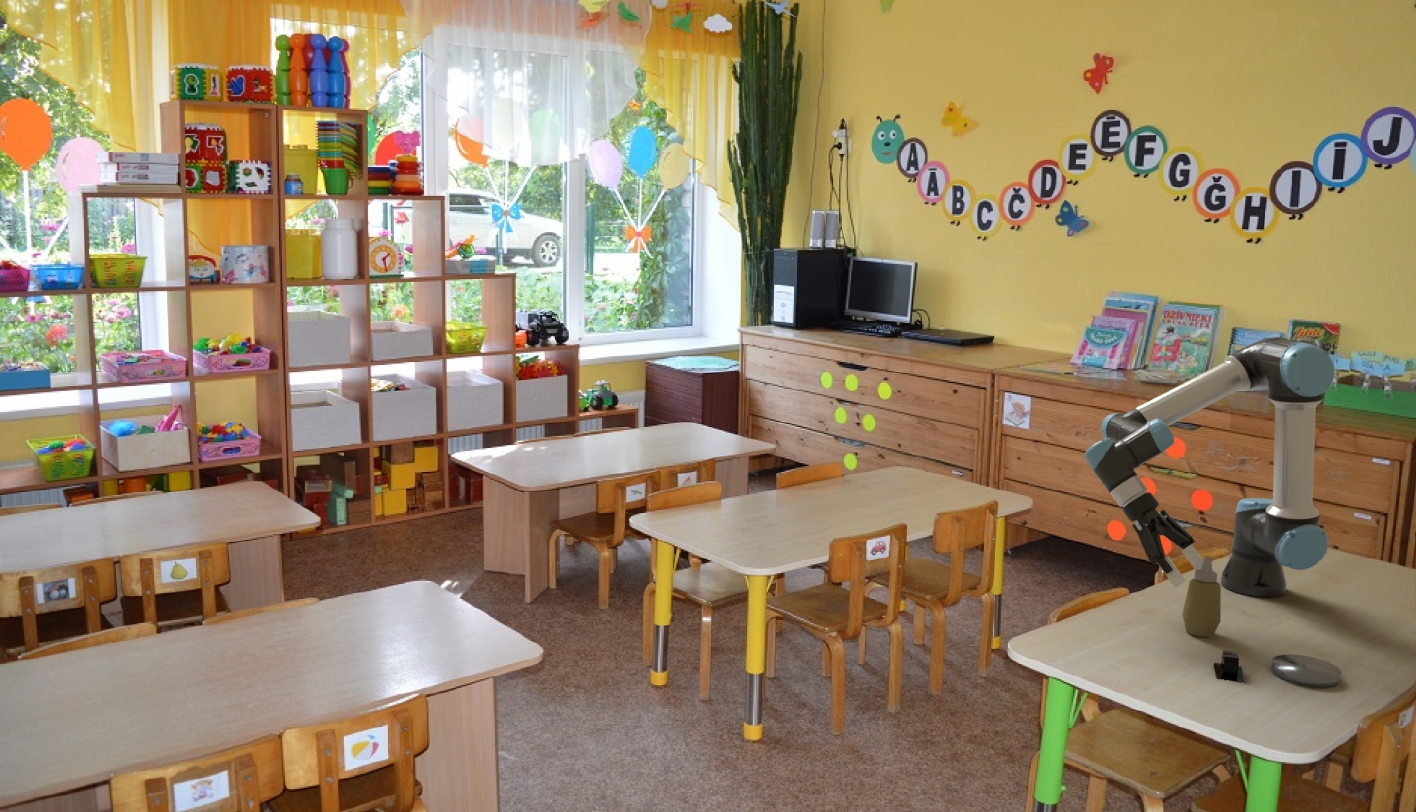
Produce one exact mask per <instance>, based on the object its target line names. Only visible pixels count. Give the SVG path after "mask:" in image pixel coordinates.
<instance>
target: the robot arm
mask: <svg viewBox="0 0 1416 812" xmlns="http://www.w3.org/2000/svg"><path fill="white" fill-rule="evenodd" d="M1335 372H1336V371H1335V366H1334V361H1333V359H1332V357H1331V356H1330V355H1329V354H1328V353H1327V351H1326V350H1324V349H1323V348H1322V347H1319V346H1316V345H1314V344H1312V343H1310V342H1304V341H1300V340H1299V341H1298V340H1294V339H1293V340H1292V339H1288V338H1285V337H1280V336H1279V337H1278V336H1277V337H1276V336H1275V337H1268V338H1263V339H1261V340H1258V341H1256V342H1253V343H1251V344H1249V345H1247V346H1245V347H1242V348H1240V349H1238V350H1236V351H1234V352H1232V353H1230V354H1228V355H1227V356H1225V357H1224V360H1223V362H1222V363H1220V364H1218V365H1215V366H1214V367H1212V368H1210V369H1208V370H1206V371H1205V372H1203V373H1201V374H1199V375H1197V376H1195V377H1193V378H1191V379H1189V380H1186V381H1184V382H1183V383H1181V384H1180V385H1177V386H1176V387H1174V388H1172V389H1170V390H1167V391H1166V392H1164V393H1162V394H1160V395H1158V396H1156V397H1154V398H1153V399H1150V400H1148V401H1147V402H1145V403H1143V404H1141V405H1139V406H1136V407H1135V408H1133V409H1131V410H1129V411H1127V412H1124V413H1110V414H1108V415H1107V416H1106V417H1105V418H1104V419H1103V420H1102V422H1101V425H1100V432H1101V436H1102V437H1103V439H1100V440H1099V441H1097V442H1095V443H1094V444H1093V445H1091V446H1090V447H1089V448H1088V449H1087V450H1086V451H1085V453H1084V458H1085V461H1086V462H1087V463H1088V465H1089V467H1090V468H1091V470H1092V472H1094V474H1095V475H1096V476H1097V478H1098V479H1099V481H1100V482H1101V483H1102V485H1103V486H1104V487H1105V488H1106V490H1107V491H1108V492H1109V493H1110V495H1111V496H1112V500H1113V501H1115V502H1116V503H1117V505H1118V506H1119V507H1123V508H1122V512H1123V514H1124V515H1125V516H1126V517H1127V519H1128V520H1129V521H1130V522H1132V523H1133V522H1135V523H1133V524H1132V525H1131V526H1132V528H1133V529H1134V531H1135V533H1136V534H1137V536H1138V539H1139V542H1140V543H1141V546H1142V549H1143V550H1144V552H1145V555H1146V557H1147V560H1148V561H1149V562H1150V563H1151V565H1156V564H1157V565H1158V566H1159V567H1160V568H1161V570H1162V572H1163V573H1164V574H1165V575H1166V577H1167V578H1168V580H1169V581H1170V582H1171V584H1172V585H1173V586H1174V588H1175V589H1176V588H1178V587H1179V586H1181V585H1183V584H1184V583H1186V582H1187V580H1186V578H1185V577H1184V576H1183V574H1182V573H1181V572H1180V570H1179V569H1178V567H1177V566H1176V565H1175V563H1174V562H1173V561H1172V560H1171V558H1170V556H1168V555H1167V556H1166V553H1165V550H1164V548H1163V543H1162V539H1161V536H1164V537H1165V538H1166V539H1168V540H1169V541H1171V542H1172V543H1174V544H1175V545H1176V546H1178V547H1179V548H1181V552H1182V554H1183V555H1184V556H1185V558H1186V559H1187V560H1188V562H1189V563H1190V565H1191V566H1192V568H1193V569H1194V570H1195V571H1196V570H1199V569H1201V567H1202V564H1203V561H1204V558H1203V557H1202V556H1201V555H1200V553H1199V552H1198V551H1197V549H1196V547H1194V543H1195V542H1196V540H1195V539H1194V537H1193V536H1192V535H1191V534H1190V533H1189V532H1188V531H1186V530H1185V529H1184V528H1183V527H1182V526H1181V525H1180V524H1179V523H1177V522H1176V521H1175V520H1174V519H1173V518H1172V517H1171V516H1170V515H1169V514H1168V513H1167V511H1166V510H1165V509H1161V510H1160V511H1159V512H1158V510H1157V508H1158V506H1159V505H1160V504H1159V501H1158V500H1157V499H1156V497H1155V496H1154V494H1153V493H1152V492H1150V491H1148V490H1149V488H1148V487H1147V485H1146V484H1145V483H1144V481H1143V479H1141V477H1140V476H1139V475H1138V474H1137V472H1136V470H1135V469H1138V468H1140V466H1142V465H1144V464H1145V463H1147V462H1149V461H1151V460H1152V459H1154V458H1155V457H1157V456H1159V455H1160V454H1163V453H1164V452H1165V451H1167V450H1169V448H1171V447H1172V446H1173V445H1174V444H1175V437H1174V435H1173V434H1174V433H1172V430H1171V429H1170V427H1169V426H1171V425H1172V424H1174V423H1177V422H1178V421H1181V420H1183V419H1184V418H1187V417H1188V416H1191V415H1193V414H1195V413H1196V412H1198V411H1200V410H1202V409H1205V408H1207V407H1209V406H1210V405H1212V404H1214V403H1216V402H1217V401H1220V400H1222V399H1224V398H1226V397H1228V396H1230V395H1232V394H1234V393H1236V392H1238V391H1243V392H1245V391H1249V390H1251V389H1253V388H1255V387H1259V386H1264V385H1265V386H1266V385H1268V400H1269V401H1270V402H1271V403H1272V404H1273V405H1274V408H1275V409H1274V443H1273V444H1274V447H1273V449H1274V450H1273V481H1272V482H1273V483H1272V498H1262V497H1261V498H1259V497H1257V498H1255V497H1250V498H1249V497H1247V498H1246V497H1245V498H1242V499H1240V500H1239V501H1238V502H1237V505H1236V509H1235V518H1234V527H1233V535H1232V536H1233V539H1232V545H1231V553H1230V556H1229V559H1228V560H1227V563H1226V565H1225V567H1224V569H1223V571H1222V573H1221V576H1220V586H1221V587H1224V588H1225V589H1227V590H1230V591H1232V592H1233V593H1238V594H1242V595H1247V596H1251V597H1257V598H1258V597H1261V598H1276V597H1277V598H1278V597H1281V596H1284V595H1285V594H1286V593H1285V592H1286V591H1287V581H1286V580H1287V579H1286V576H1285V572H1284V568H1283V567H1286V568H1290V569H1292V570H1296V571H1297V570H1298V571H1302V570H1303V571H1304V570H1307V569H1311V568H1312V567H1315V566H1316V565H1317V564H1318V563H1319V562H1320V561H1322V560H1323V558H1325V556H1326V554H1327V552H1328V549H1329V538H1328V535H1327V533H1326V532H1325V531H1324V529H1322V527H1320V511H1319V510H1318V509H1317V508H1316V507H1315V506H1314V505H1313V503H1314V502H1313V501H1314V500H1313V499H1314V497H1313V496H1314V477H1315V476H1314V471H1315V446H1316V445H1315V439H1316V413H1317V411H1316V410H1317V409H1316V408H1317V406H1318V405H1319V404H1320V403H1322V402H1323V401H1324V393H1325V392H1326V391H1327V390H1328V389H1329V386H1331V385H1332V383H1333V382H1334V379H1335Z"/></svg>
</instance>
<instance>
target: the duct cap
mask: <svg viewBox="0 0 1416 812" xmlns="http://www.w3.org/2000/svg"><path fill="white" fill-rule="evenodd" d="M1270 671H1271V673H1272V674H1273V675H1274V676H1275V675H1276V676H1275V677H1277V678H1278V677H1279V678H1278V679H1280V680H1282V681H1284V682H1287V683H1290V684H1293V685H1297V686H1299V687H1300V686H1301V687H1306V688H1311V689H1333V688H1336V687H1338V686H1340V684H1341V680H1342V674H1343V673H1342V670H1341V669H1340V668H1339V667H1337V665H1334V664H1333V663H1330V662H1329V661H1326V660H1324V659H1320V658H1317V657H1313V656H1309V655H1308V656H1307V655H1302V654H1289V653H1288V654H1278V655H1276V656H1274V657H1273V658H1272V659H1271V666H1270Z"/></svg>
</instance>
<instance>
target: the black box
mask: <svg viewBox="0 0 1416 812" xmlns="http://www.w3.org/2000/svg"><path fill="white" fill-rule="evenodd" d="M1220 661H1221V662H1214V665H1213V670H1214V675H1215V679H1216V678H1217V679H1216V680H1220V679H1221V680H1222V681H1227V680H1229V682H1234V683H1235V682H1236V683H1241V684H1246V680H1245V681H1244V679H1245V677H1243V675H1244V671H1243V668H1242V666H1241V665H1239V664H1240V656H1239V652H1237V651H1231V650H1222V655H1221V660H1220ZM1216 676H1217V677H1216ZM1243 678H1244V679H1243ZM1223 679H1224V680H1223ZM1221 680H1220V681H1221ZM1242 682H1244V683H1242Z"/></svg>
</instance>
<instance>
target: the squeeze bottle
mask: <svg viewBox="0 0 1416 812" xmlns="http://www.w3.org/2000/svg"><path fill="white" fill-rule="evenodd" d="M1203 560H1204V561H1203V564H1202V567H1201V569H1199V570H1195V571H1194V578H1193V579H1191V580H1189V582H1188V587H1187V592H1186V596H1185V600H1184V604H1183V609H1182V612H1181V615H1182V619H1183V624H1184V627H1185V632H1186V633H1188V634H1189V635H1192V636H1195V637H1201V638H1210V637H1213V636H1214V635H1215V633H1216V631H1217V630H1218V627H1219V625H1220V623H1221V621H1222V620H1221V613H1222V612H1221V611H1222V610H1221V595H1222V594H1221V591H1222V590H1221V588H1222V585H1221V583H1220V582H1218V581H1217V580H1218V573H1217V572H1216V571H1213V565H1212V564H1213V562H1212V556H1209V555H1205V556H1204V558H1203Z"/></svg>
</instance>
